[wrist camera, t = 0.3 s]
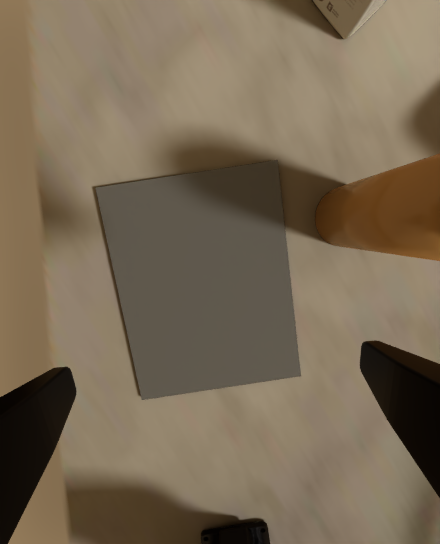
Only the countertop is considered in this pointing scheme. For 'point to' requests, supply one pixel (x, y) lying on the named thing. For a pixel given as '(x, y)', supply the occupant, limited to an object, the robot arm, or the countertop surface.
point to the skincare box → (348, 13)
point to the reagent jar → (387, 212)
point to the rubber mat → (203, 278)
